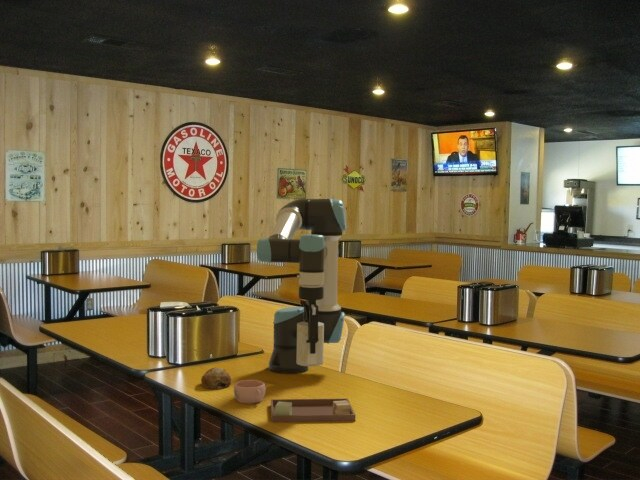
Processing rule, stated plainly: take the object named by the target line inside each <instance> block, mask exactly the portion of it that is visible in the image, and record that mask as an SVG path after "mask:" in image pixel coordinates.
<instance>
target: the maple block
mask: <svg viewBox="0 0 640 480" xmlns="http://www.w3.org/2000/svg"><path fill="white" fill-rule="evenodd" d="M350 404H351V403H350ZM350 404H349V403H348V402H347V401H346V400H344V401H333V414H350Z"/></svg>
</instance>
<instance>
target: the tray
mask: <svg viewBox="0 0 640 480" xmlns="http://www.w3.org/2000/svg"><path fill="white" fill-rule="evenodd" d="M344 400H346V401H347V402H348V403H349V404H350V414H333V401H344ZM278 402H292V415H275V414H276V404H277V403H278ZM270 413H271V415H270V417H271V423H311V422H312V423H318V422H319V423H321V422H322V423H323V422H328V423H330V422H356V413H355V411H354V409H353V406H352V404H351V402H350V400H349V398H289V399H288V398H284V399H281V398H280V399H279V398H278V399H274V398H273V399H272V398H271V399H270Z"/></svg>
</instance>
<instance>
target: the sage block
mask: <svg viewBox="0 0 640 480" xmlns="http://www.w3.org/2000/svg"><path fill="white" fill-rule="evenodd" d="M275 415H292V402H278V403H277V404H276V414H275Z"/></svg>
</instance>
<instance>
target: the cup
mask: <svg viewBox="0 0 640 480" xmlns="http://www.w3.org/2000/svg"><path fill="white" fill-rule="evenodd" d="M312 338H315V337H312ZM318 339H319V340H318V342H317V364H307V352H308V343H306V340H308V322H299V323H297V360H296V363H297V364H298V365H301V366H308V367H319V366H322V365H324V349H325V348H324V344H325V343H324V323H321V322H318Z"/></svg>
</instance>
